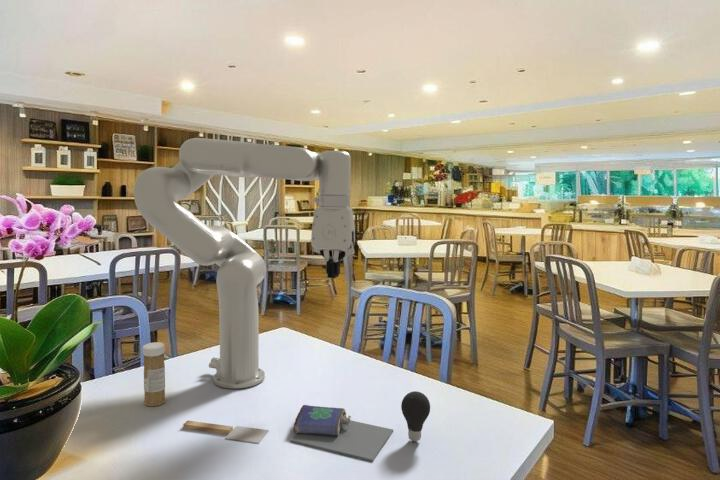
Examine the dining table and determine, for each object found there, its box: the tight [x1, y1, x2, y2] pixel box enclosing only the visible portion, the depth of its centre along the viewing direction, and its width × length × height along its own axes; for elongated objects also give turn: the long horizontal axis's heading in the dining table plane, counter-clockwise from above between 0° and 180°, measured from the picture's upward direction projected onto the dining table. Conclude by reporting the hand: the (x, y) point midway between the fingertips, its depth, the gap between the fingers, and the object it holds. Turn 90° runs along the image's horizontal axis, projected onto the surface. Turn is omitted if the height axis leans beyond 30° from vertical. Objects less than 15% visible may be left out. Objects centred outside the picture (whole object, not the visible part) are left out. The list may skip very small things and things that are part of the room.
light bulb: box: [400, 391, 431, 443], centre depth 94 cm, size 6×6×10 cm
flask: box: [293, 404, 352, 436], centre depth 99 cm, size 9×3×11 cm
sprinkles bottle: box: [142, 341, 166, 407], centre depth 108 cm, size 5×5×14 cm
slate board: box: [290, 419, 394, 463], centre depth 96 cm, size 17×12×1 cm
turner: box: [182, 420, 269, 445], centre depth 97 cm, size 17×5×1 cm, turn 78°
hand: (333, 277), depth 119 cm, fingers closed
